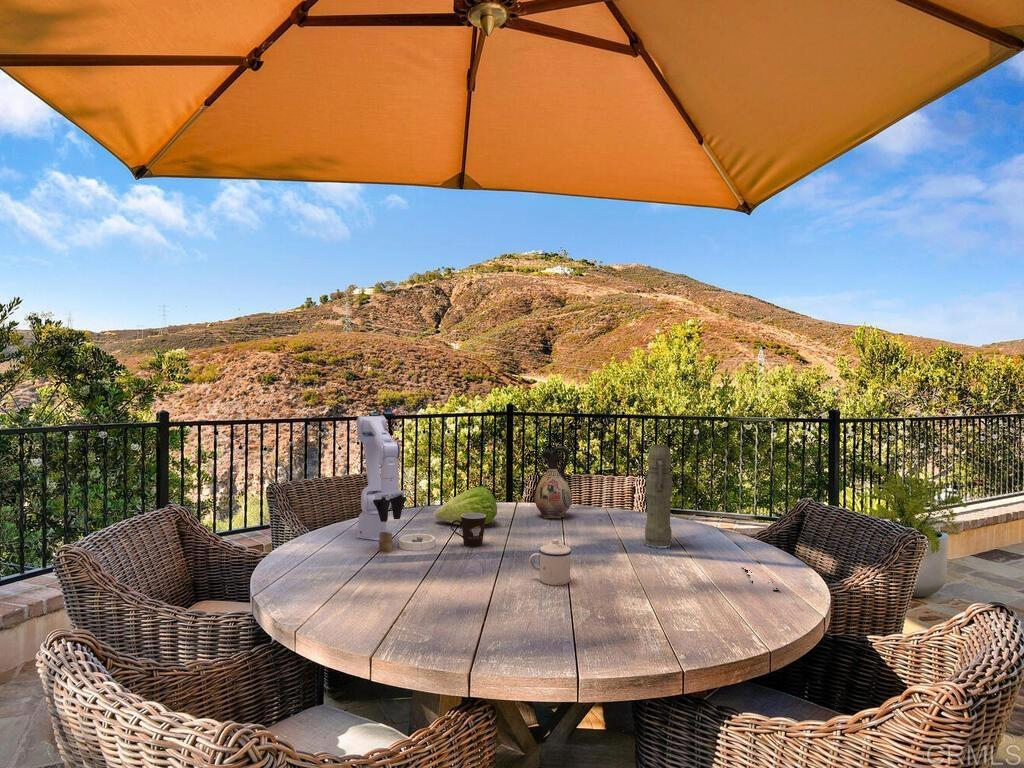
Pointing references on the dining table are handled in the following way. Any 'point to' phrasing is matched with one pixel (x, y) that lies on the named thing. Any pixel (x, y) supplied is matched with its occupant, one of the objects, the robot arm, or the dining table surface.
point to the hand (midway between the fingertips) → (390, 520)
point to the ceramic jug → (553, 486)
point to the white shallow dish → (417, 542)
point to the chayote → (468, 505)
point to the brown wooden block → (385, 542)
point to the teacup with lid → (553, 563)
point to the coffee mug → (472, 529)
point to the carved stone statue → (658, 496)
